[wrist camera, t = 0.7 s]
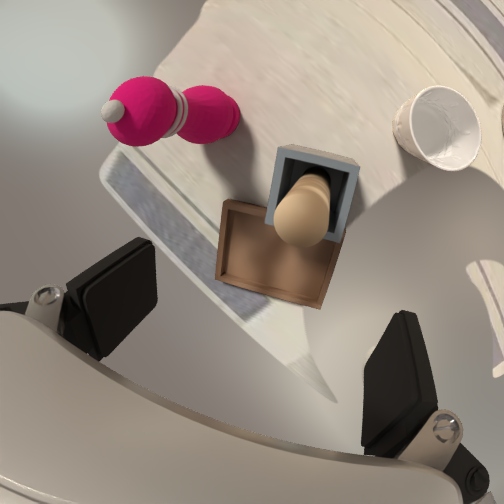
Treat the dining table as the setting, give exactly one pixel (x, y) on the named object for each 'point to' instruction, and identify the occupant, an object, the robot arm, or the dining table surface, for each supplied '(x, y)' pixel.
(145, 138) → the pepper mill
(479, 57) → the dining table surface
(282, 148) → the grey hollow box
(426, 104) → the white cup
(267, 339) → the dining table surface
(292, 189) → the dowel
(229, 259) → the tray
